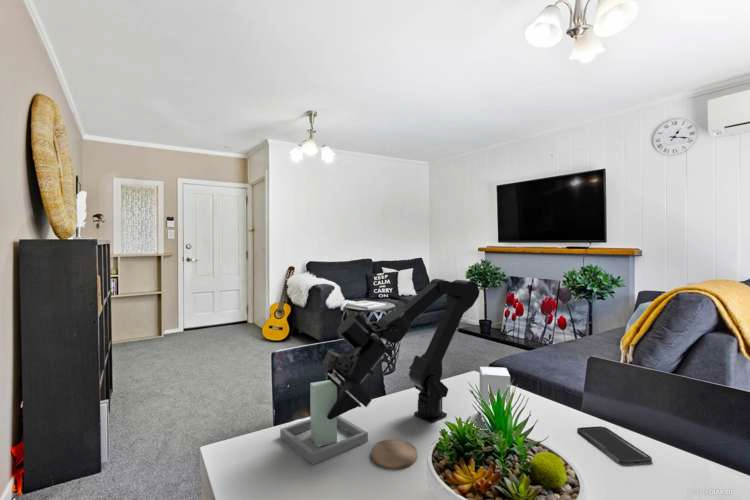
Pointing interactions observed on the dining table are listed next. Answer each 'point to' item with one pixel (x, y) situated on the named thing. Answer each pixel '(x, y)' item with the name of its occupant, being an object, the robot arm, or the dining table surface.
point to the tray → (328, 451)
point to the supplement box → (493, 382)
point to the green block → (323, 412)
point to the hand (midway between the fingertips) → (322, 411)
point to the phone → (614, 446)
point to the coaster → (394, 454)
